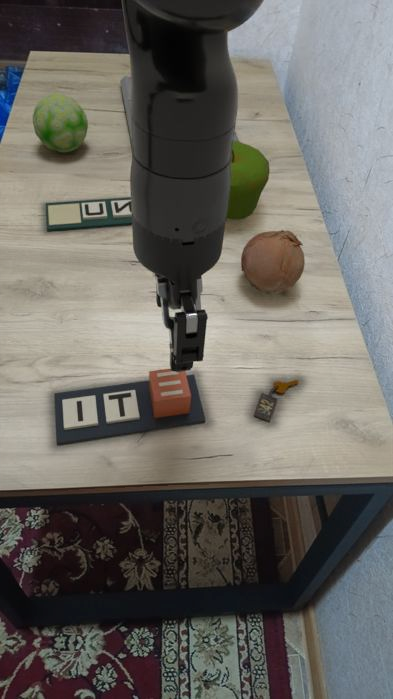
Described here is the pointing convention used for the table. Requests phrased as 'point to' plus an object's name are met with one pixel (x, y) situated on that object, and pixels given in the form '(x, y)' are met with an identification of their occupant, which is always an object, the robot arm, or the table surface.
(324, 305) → the table surface
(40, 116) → the decorative ball
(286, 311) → the table surface
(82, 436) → the near word mat
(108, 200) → the far word mat
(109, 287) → the table surface
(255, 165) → the apple
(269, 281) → the onion
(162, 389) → the red striped block
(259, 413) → the key tag
